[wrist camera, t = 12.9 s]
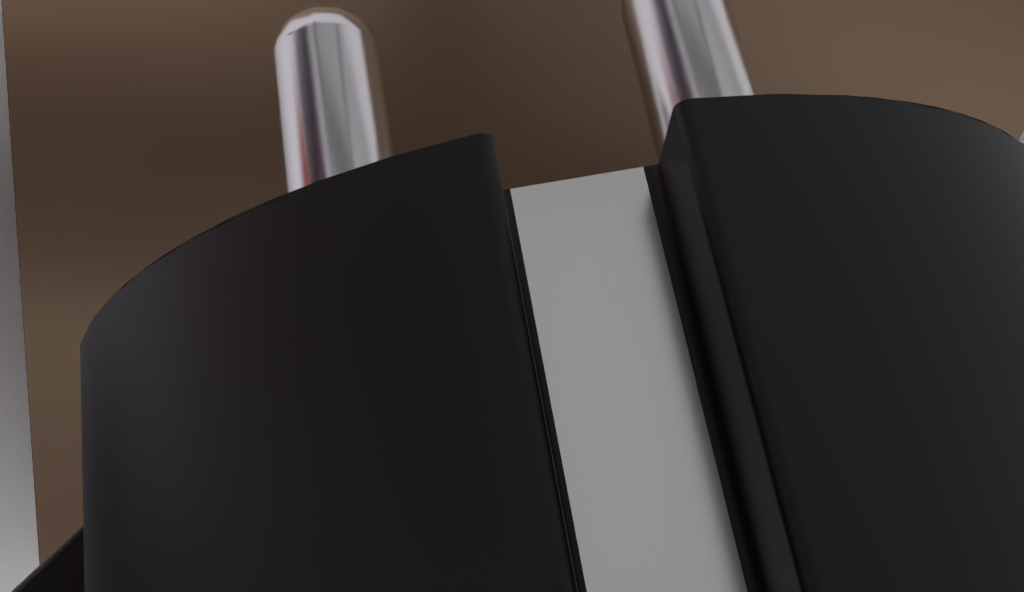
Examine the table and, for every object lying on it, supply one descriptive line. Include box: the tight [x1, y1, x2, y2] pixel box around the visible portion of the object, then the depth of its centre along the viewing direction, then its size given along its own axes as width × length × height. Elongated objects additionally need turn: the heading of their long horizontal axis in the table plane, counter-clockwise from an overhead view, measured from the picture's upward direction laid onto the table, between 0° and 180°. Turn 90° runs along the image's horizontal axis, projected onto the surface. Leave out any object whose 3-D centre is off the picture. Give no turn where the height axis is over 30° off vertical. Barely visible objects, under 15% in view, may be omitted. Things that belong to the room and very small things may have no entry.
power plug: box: [80, 0, 1024, 592], centre depth 9 cm, size 6×8×12 cm
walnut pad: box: [1, 0, 1024, 565], centre depth 13 cm, size 16×12×1 cm
